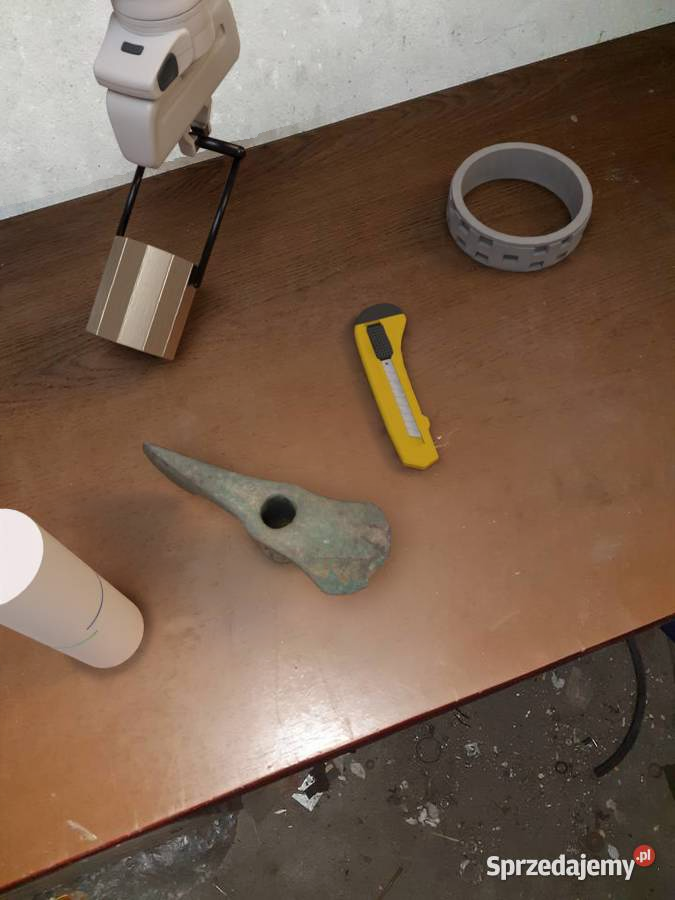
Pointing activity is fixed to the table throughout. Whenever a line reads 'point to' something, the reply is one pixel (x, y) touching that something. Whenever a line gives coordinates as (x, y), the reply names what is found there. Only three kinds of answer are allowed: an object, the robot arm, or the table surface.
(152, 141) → the robot arm
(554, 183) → the ring
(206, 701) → the table surface
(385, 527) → the axe head
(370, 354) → the utility knife
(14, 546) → the cylindrical container
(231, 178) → the bucket
